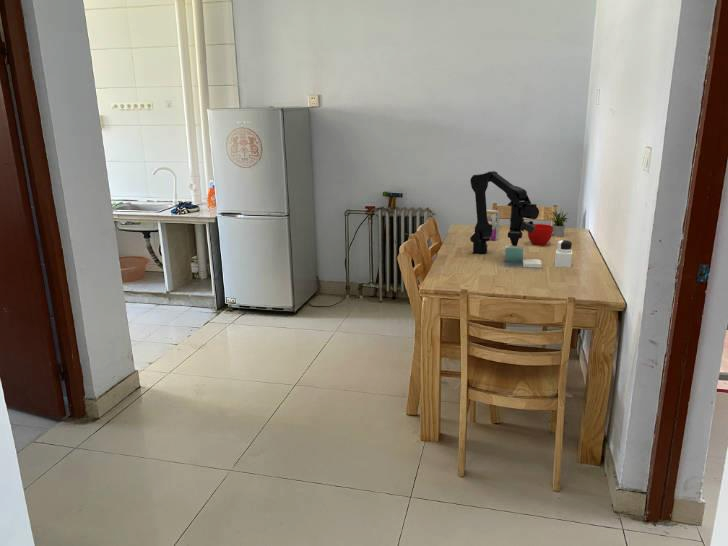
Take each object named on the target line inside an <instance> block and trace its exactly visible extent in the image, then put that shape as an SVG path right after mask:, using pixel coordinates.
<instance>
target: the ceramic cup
mask: <svg viewBox="0 0 728 546" xmlns="http://www.w3.org/2000/svg"><path fill="white" fill-rule="evenodd" d="M533 225H535V229H534V231H533V233H529V232H528V231H527V237H528V240H529V241H530V243H531V245H533V246H535V245H537V246H536V247H543V246H546V245H547V244H548V243H549V241H550V240H551V239H552V236H553V226H552V224H551V225H550V224H546V223H545V224H543V223H533Z"/></svg>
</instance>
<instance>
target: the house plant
mask: <svg viewBox="0 0 728 546" xmlns="http://www.w3.org/2000/svg"><path fill="white" fill-rule="evenodd" d="M562 209H563V207H562V208H561V209H560V211H559V213H558V211H557V209H556V208H554V209H553V210H550V209H547V210H549V213H550V212H551V216H552V217H549V219H550V220H551V222H552V223H553V224H551V226H553V232H552V236H553V237H556V238H557V237H559V238H560V237H561V238H562V237H564V233H565V229H566V224H564V223H568V220H570V218H569V217H568V218H567V217H566V216H567V215H568V214H569V213H570V212H571V210H570V211H568V212H566V213H564V211H562Z"/></svg>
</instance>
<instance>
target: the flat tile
mask: <svg viewBox="0 0 728 546" xmlns="http://www.w3.org/2000/svg"><path fill="white" fill-rule="evenodd" d="M542 266H543V265H542V260H541V259H536V258H535V259H531V258H523V267H524V268H523V269H531V268H540V269H542Z"/></svg>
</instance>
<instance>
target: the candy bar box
mask: <svg viewBox="0 0 728 546" xmlns="http://www.w3.org/2000/svg"><path fill="white" fill-rule="evenodd" d="M500 216H501V210H492V209H487V221H488V223H489V224H492V231H493V232H492V236H491V237H490V240H489V241H492V242H496V241H498V240H499V232H500Z"/></svg>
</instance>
